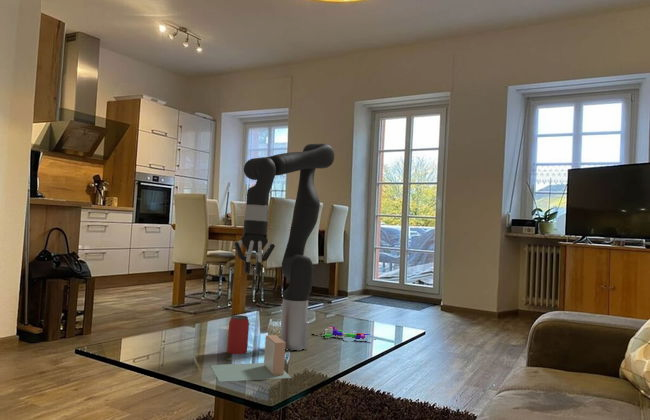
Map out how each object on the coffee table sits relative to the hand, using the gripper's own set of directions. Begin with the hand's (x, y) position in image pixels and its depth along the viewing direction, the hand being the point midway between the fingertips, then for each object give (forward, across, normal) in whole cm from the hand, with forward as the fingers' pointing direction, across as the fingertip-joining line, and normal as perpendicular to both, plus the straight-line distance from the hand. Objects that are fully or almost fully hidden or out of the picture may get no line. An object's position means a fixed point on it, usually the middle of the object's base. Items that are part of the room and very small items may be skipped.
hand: (252, 273), depth 150 cm
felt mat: (+27, +2, +14) cm, 31 cm away
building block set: (+28, -49, -31) cm, 64 cm away
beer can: (+27, +1, -9) cm, 29 cm away
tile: (+26, -5, +14) cm, 30 cm away
